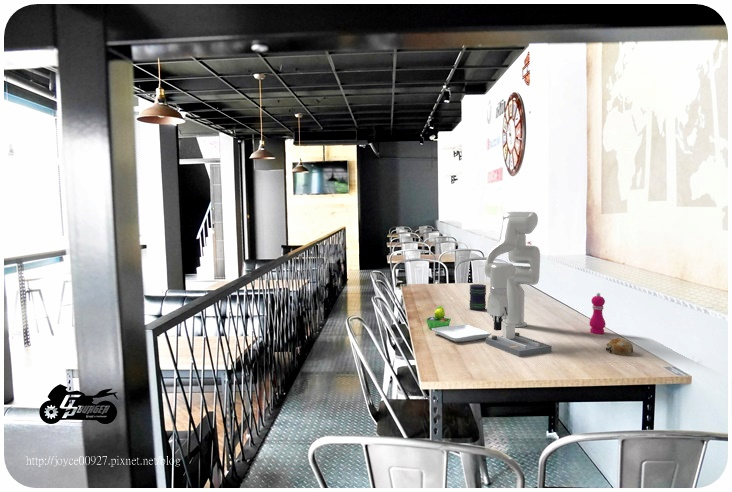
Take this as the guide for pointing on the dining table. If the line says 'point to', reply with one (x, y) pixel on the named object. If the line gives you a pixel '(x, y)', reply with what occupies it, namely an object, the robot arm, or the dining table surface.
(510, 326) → the block
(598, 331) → the pepper mill
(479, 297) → the storage jar
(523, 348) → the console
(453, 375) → the dining table surface
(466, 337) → the salad plate
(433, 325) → the fruit basket
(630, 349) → the bread roll
